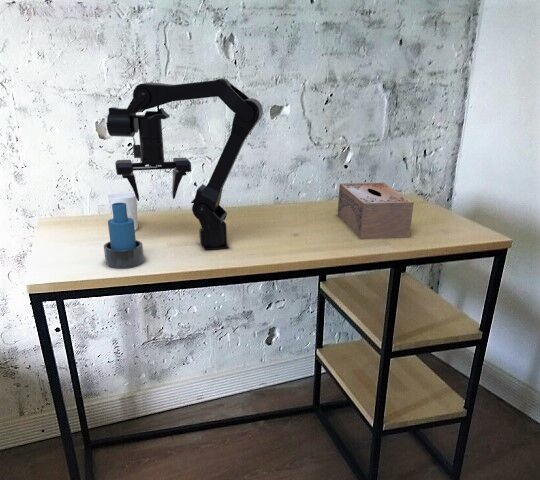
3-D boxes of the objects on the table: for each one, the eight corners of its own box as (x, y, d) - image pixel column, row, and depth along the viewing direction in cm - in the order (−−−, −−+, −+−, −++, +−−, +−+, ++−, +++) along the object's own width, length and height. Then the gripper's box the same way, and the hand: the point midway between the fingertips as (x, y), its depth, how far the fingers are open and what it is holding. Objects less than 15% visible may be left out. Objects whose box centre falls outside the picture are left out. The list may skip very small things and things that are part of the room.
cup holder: (142, 254, 144) (140, 237, 142) (145, 266, 136) (143, 249, 134) (105, 257, 142) (103, 240, 140) (106, 270, 134) (104, 252, 132)
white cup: (107, 229, 164) (102, 194, 160) (130, 223, 169) (127, 190, 165) (121, 234, 160) (117, 199, 155) (145, 229, 164) (141, 195, 160)
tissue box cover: (337, 214, 181) (339, 183, 177) (380, 213, 183) (383, 182, 179) (360, 238, 159) (363, 203, 154) (409, 236, 161) (413, 202, 156)
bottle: (131, 254, 143) (125, 200, 136) (141, 261, 138) (136, 205, 132) (109, 259, 140) (102, 203, 133) (118, 266, 135) (111, 208, 129)
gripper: (183, 132, 150) (186, 191, 157) (111, 134, 145) (118, 194, 152) (190, 138, 140) (193, 200, 147) (113, 140, 135) (120, 204, 142)
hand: (156, 199), depth 147 cm, fingers open, 9 cm apart
